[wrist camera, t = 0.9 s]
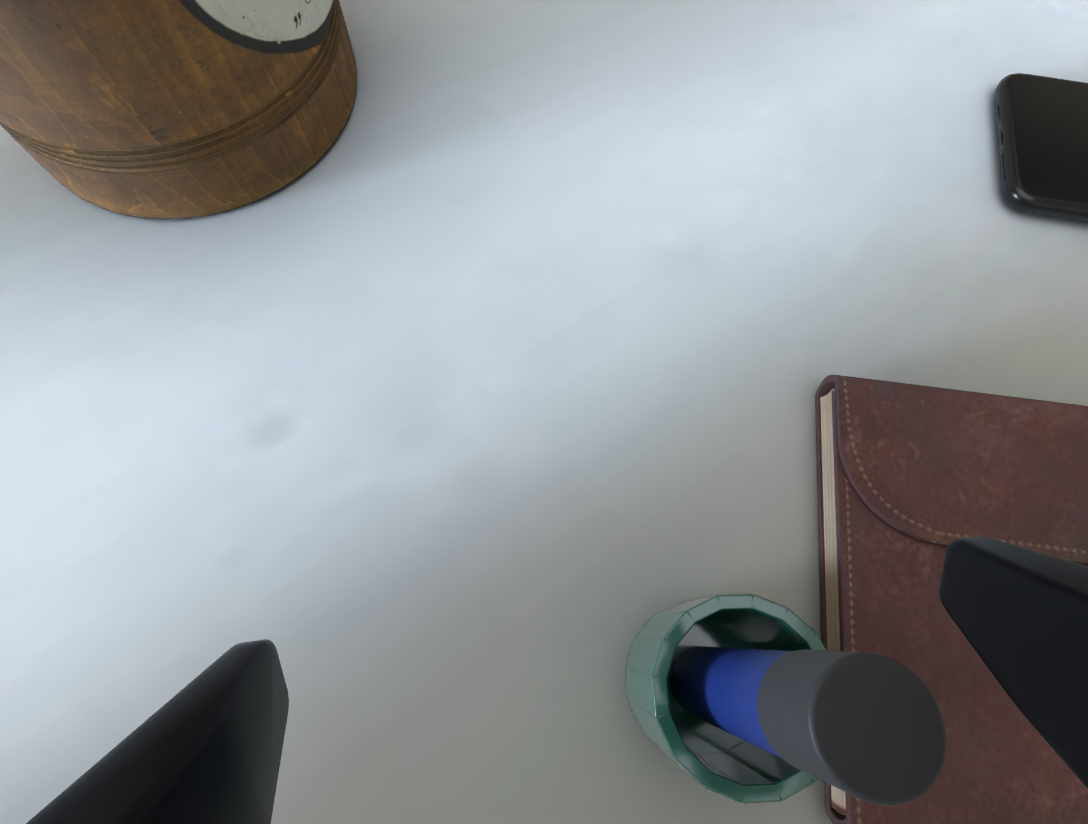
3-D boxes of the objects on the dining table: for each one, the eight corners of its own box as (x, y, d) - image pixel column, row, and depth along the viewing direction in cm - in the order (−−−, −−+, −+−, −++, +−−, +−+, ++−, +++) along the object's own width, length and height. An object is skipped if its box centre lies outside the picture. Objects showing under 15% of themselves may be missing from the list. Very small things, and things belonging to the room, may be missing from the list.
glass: (801, 721, 21) (880, 746, 16) (668, 793, 20) (712, 841, 15) (726, 579, 22) (779, 564, 18) (600, 641, 21) (620, 642, 17)
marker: (750, 700, 20) (978, 766, 10) (688, 732, 20) (860, 835, 10) (715, 632, 21) (896, 628, 11) (656, 663, 21) (783, 689, 10)
